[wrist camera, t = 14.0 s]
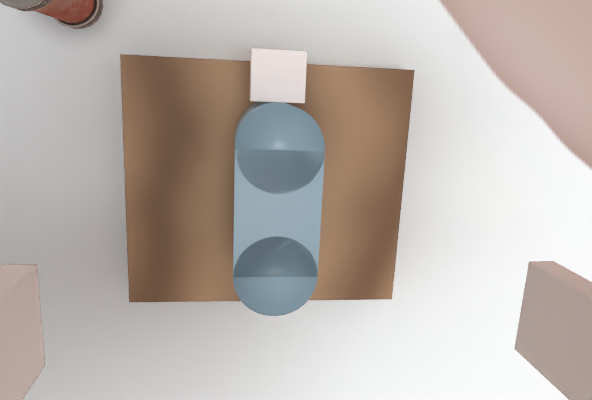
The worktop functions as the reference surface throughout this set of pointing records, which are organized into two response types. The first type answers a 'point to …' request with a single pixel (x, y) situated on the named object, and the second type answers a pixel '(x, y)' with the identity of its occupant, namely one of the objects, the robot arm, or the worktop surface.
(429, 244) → the worktop surface
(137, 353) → the worktop surface
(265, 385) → the worktop surface
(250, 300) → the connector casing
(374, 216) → the walnut board
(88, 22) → the lighter
